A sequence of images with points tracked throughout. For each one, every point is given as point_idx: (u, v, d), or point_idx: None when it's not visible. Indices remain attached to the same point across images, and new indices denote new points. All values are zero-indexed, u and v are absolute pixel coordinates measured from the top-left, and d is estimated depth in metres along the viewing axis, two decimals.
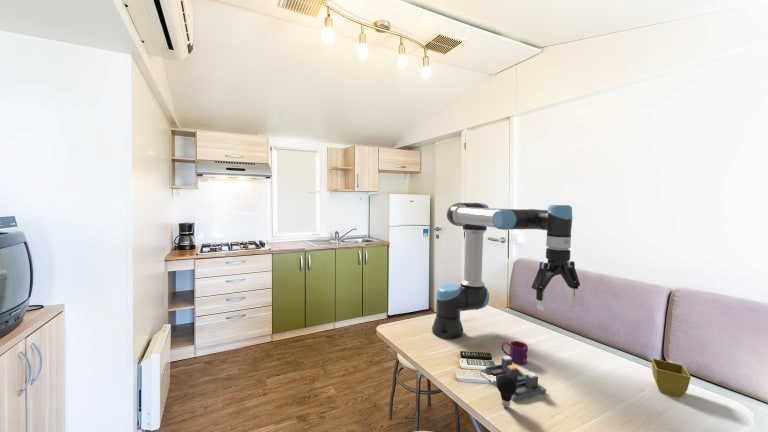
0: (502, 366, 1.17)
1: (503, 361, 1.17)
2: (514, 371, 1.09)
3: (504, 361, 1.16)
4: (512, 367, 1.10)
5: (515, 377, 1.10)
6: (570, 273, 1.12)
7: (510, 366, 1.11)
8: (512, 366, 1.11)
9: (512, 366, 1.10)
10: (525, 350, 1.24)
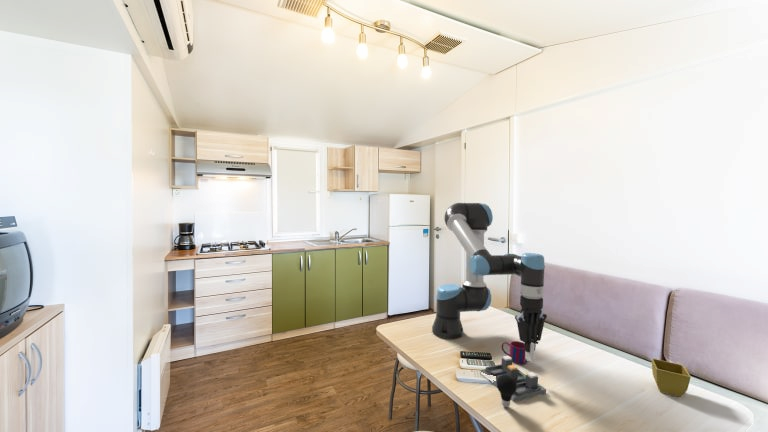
0: (502, 366, 1.17)
1: (503, 361, 1.17)
2: (514, 371, 1.09)
3: (504, 361, 1.16)
4: (512, 367, 1.10)
5: (515, 377, 1.10)
6: (537, 324, 1.14)
7: (510, 366, 1.11)
8: (512, 366, 1.11)
9: (512, 366, 1.10)
10: None
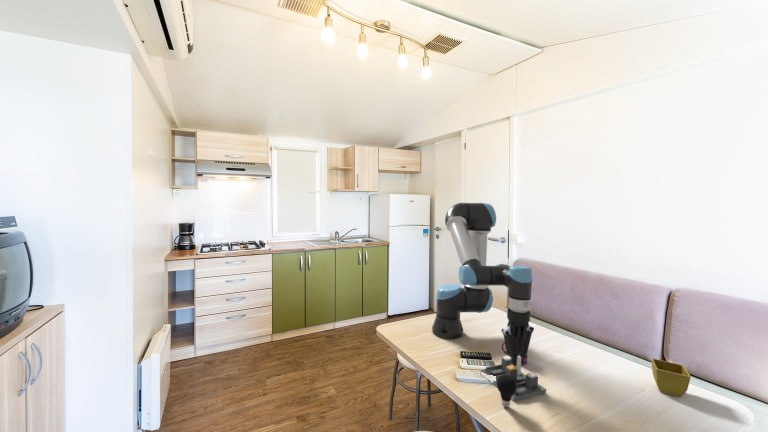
0: (502, 366, 1.17)
1: (503, 361, 1.17)
2: (513, 371, 1.09)
3: (504, 361, 1.16)
4: (511, 367, 1.10)
5: (514, 378, 1.09)
6: (524, 337, 1.12)
7: (509, 366, 1.10)
8: (511, 366, 1.10)
9: (511, 367, 1.10)
10: None
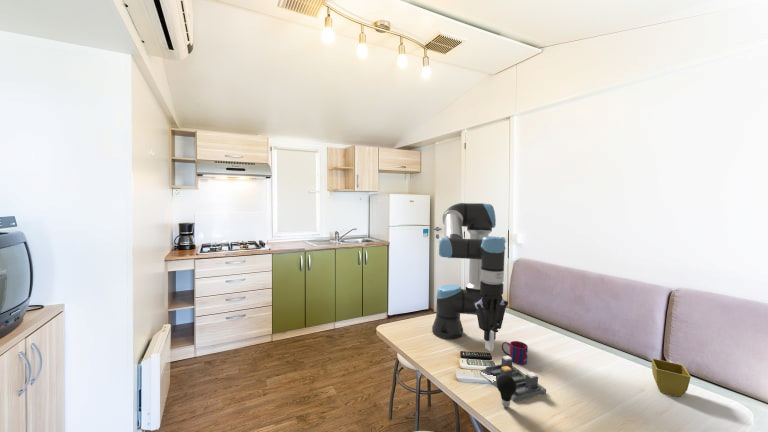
0: (502, 366, 1.17)
1: (503, 361, 1.17)
2: (508, 372, 1.08)
3: (504, 361, 1.16)
4: (506, 368, 1.09)
5: None
6: (498, 312, 1.07)
7: (504, 367, 1.10)
8: (506, 367, 1.10)
9: (505, 368, 1.09)
10: (525, 350, 1.24)
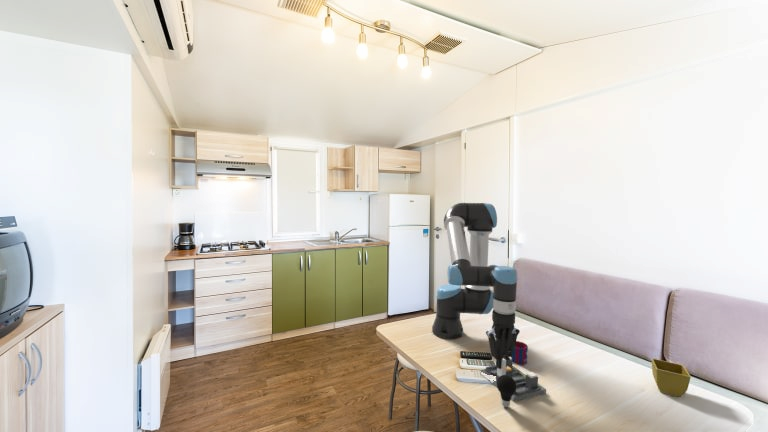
0: None
1: None
2: (508, 372, 1.08)
3: None
4: (506, 368, 1.09)
5: None
6: (510, 340, 1.10)
7: None
8: (506, 367, 1.10)
9: (506, 368, 1.09)
10: (525, 350, 1.24)
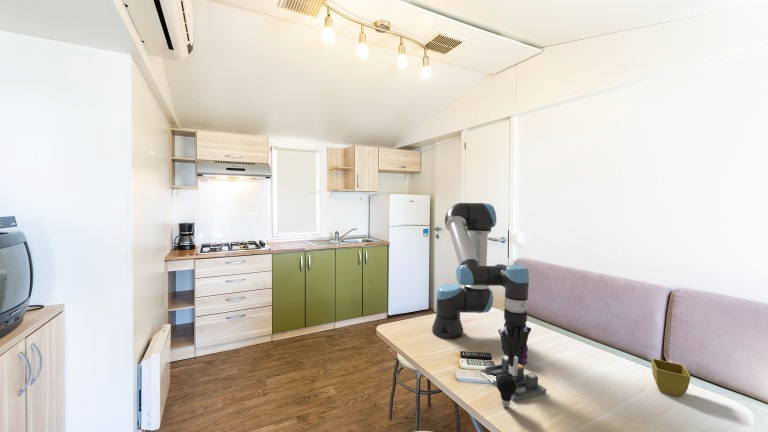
0: (502, 366, 1.17)
1: (503, 361, 1.17)
2: (520, 370, 1.10)
3: (504, 361, 1.16)
4: (518, 366, 1.11)
5: (521, 376, 1.11)
6: (521, 338, 1.12)
7: None
8: (518, 365, 1.11)
9: None
10: (525, 350, 1.24)
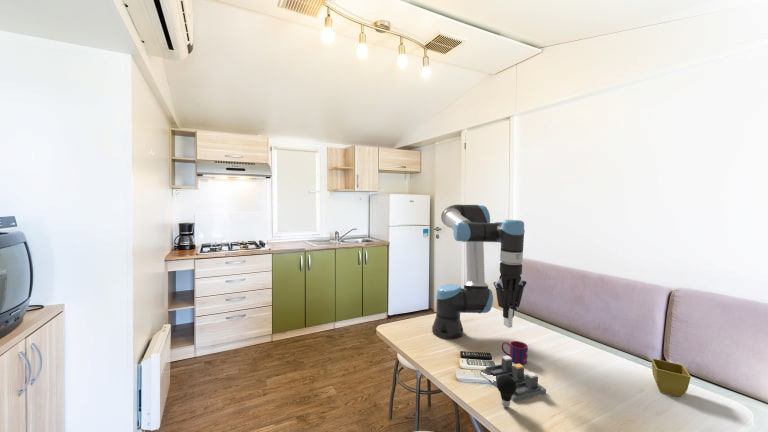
0: (502, 366, 1.17)
1: (503, 361, 1.17)
2: (520, 370, 1.10)
3: (504, 361, 1.16)
4: (518, 366, 1.11)
5: (521, 376, 1.11)
6: (517, 291, 1.13)
7: (516, 365, 1.11)
8: (518, 365, 1.11)
9: (518, 365, 1.11)
10: (525, 350, 1.24)
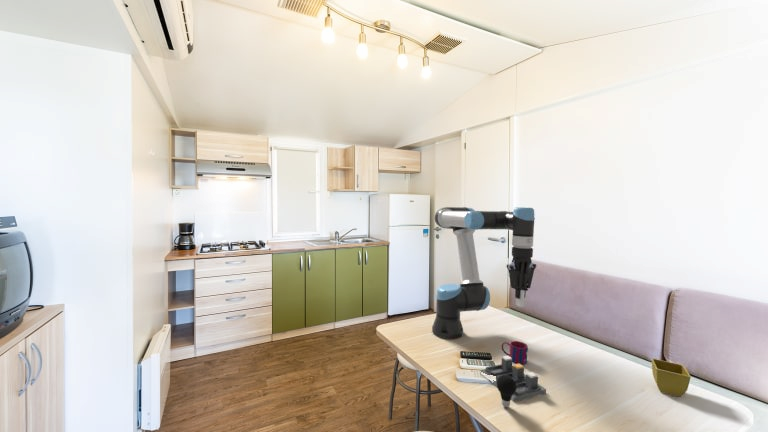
0: (502, 366, 1.17)
1: (503, 361, 1.17)
2: (520, 370, 1.10)
3: (504, 361, 1.16)
4: (518, 366, 1.11)
5: (521, 376, 1.11)
6: (527, 274, 1.22)
7: (516, 365, 1.11)
8: (518, 365, 1.11)
9: (518, 365, 1.11)
10: (525, 350, 1.24)
